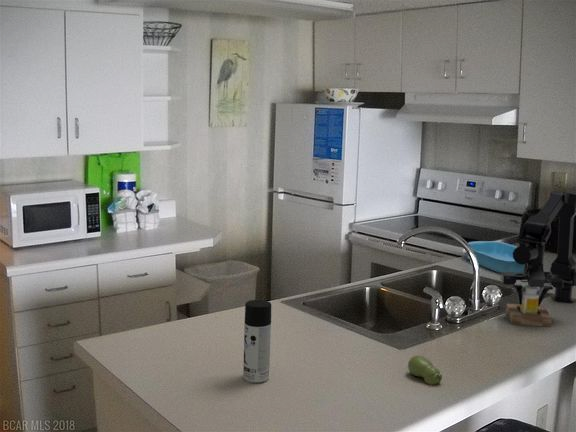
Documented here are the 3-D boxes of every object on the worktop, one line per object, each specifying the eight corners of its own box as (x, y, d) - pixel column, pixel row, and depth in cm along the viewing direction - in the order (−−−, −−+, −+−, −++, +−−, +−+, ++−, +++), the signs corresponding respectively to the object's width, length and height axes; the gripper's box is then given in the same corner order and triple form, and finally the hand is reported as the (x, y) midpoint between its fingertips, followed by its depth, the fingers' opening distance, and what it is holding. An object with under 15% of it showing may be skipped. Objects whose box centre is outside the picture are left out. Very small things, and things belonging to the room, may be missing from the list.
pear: (420, 350, 184) (448, 369, 177) (416, 367, 186) (444, 387, 178) (405, 354, 181) (433, 373, 173) (401, 371, 183) (429, 391, 175)
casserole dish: (452, 256, 306) (454, 241, 305) (494, 253, 314) (496, 238, 312) (506, 280, 272) (508, 262, 271) (552, 276, 280) (553, 258, 279)
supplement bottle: (516, 314, 227) (519, 286, 225) (525, 311, 231) (528, 283, 229) (531, 319, 223) (534, 290, 221) (540, 315, 227) (543, 287, 225)
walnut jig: (505, 311, 234) (506, 303, 233) (542, 314, 232) (543, 305, 232) (512, 324, 222) (512, 315, 222) (551, 326, 221) (552, 318, 220)
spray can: (242, 372, 180) (244, 299, 176) (269, 372, 180) (270, 299, 176) (243, 383, 173) (244, 307, 169) (270, 383, 174) (272, 307, 170)
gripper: (508, 263, 217) (503, 311, 220) (570, 267, 214) (565, 315, 217) (502, 254, 227) (498, 300, 231) (561, 258, 225) (556, 303, 228)
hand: (529, 304), depth 226 cm, fingers closed on supplement bottle, 5 cm apart
